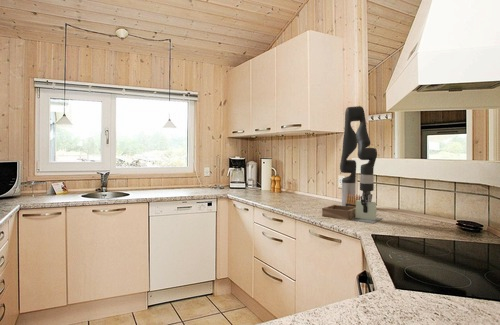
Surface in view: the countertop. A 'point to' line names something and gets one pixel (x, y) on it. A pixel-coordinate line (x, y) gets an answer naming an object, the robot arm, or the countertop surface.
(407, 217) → the countertop surface
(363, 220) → the rubber mat
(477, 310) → the countertop surface
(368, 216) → the pale green rectangular block
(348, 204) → the ammunition clip
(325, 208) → the walnut box
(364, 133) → the robot arm
